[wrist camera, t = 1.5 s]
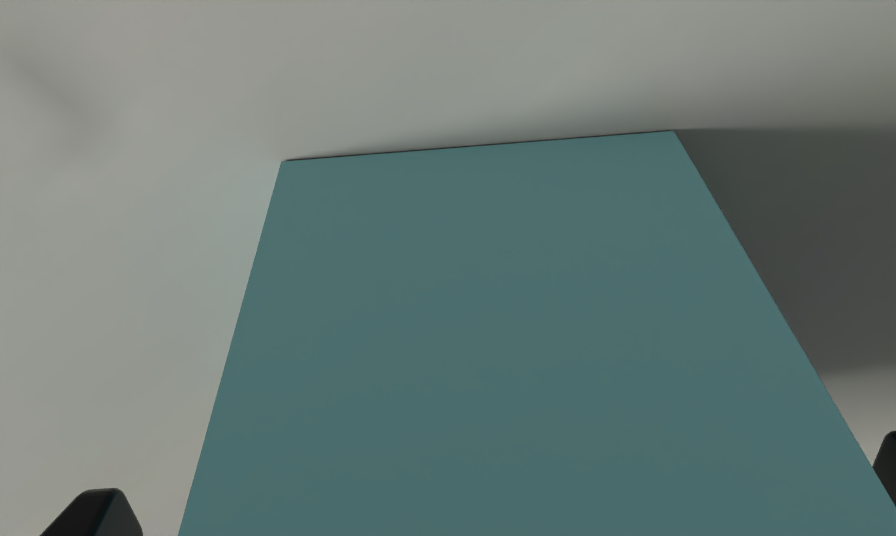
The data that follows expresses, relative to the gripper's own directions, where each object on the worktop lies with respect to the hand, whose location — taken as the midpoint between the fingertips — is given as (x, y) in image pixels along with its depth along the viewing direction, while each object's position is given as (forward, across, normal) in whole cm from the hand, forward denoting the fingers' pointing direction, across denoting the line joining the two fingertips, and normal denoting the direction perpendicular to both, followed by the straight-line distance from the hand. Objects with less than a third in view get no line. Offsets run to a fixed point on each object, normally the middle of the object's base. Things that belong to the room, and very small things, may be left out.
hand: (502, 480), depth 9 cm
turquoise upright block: (+3, 0, 0) cm, 3 cm away
